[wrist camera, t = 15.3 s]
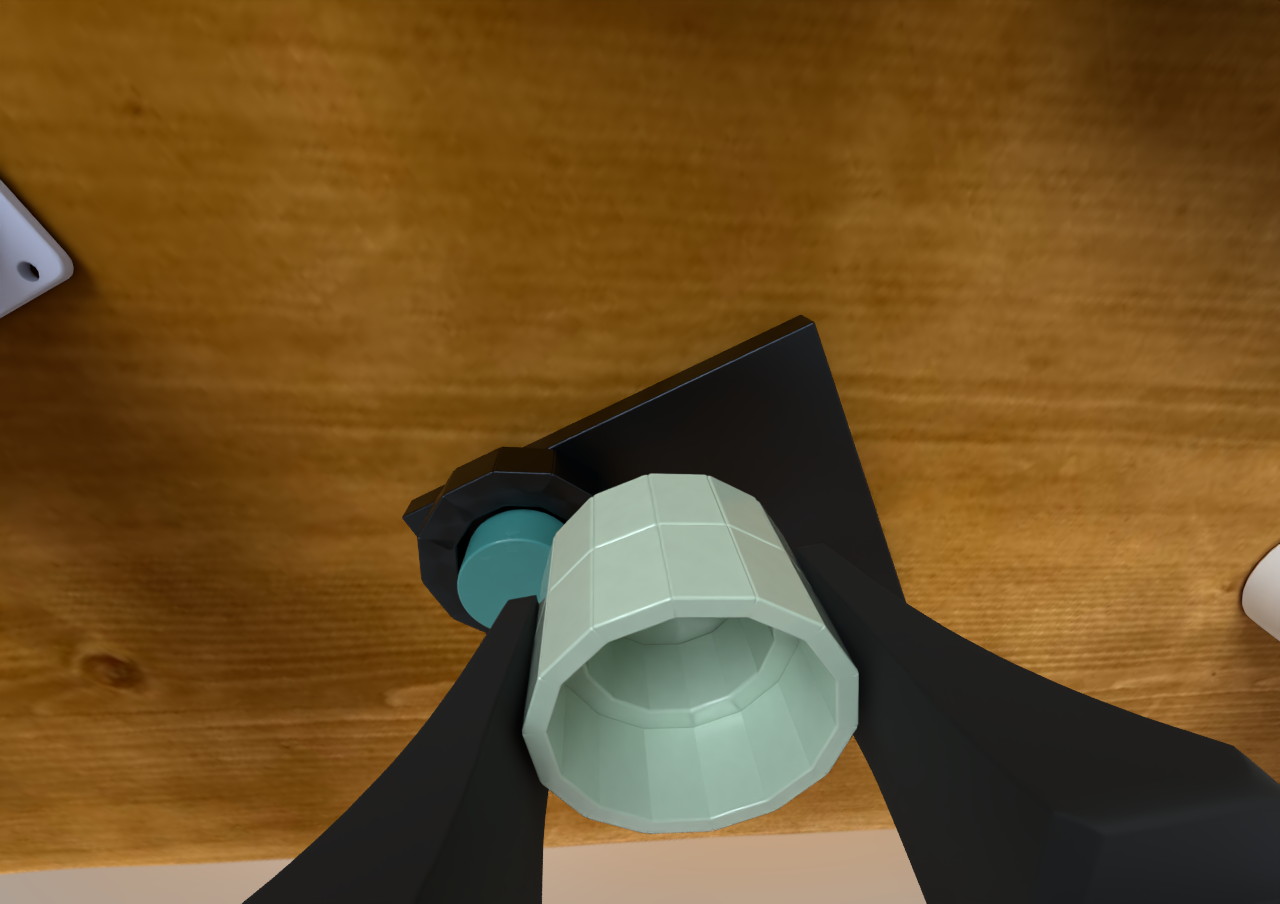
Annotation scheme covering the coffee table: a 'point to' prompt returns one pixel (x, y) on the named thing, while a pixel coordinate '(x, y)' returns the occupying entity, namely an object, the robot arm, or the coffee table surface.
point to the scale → (683, 459)
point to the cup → (1264, 593)
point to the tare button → (505, 561)
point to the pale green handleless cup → (682, 662)
